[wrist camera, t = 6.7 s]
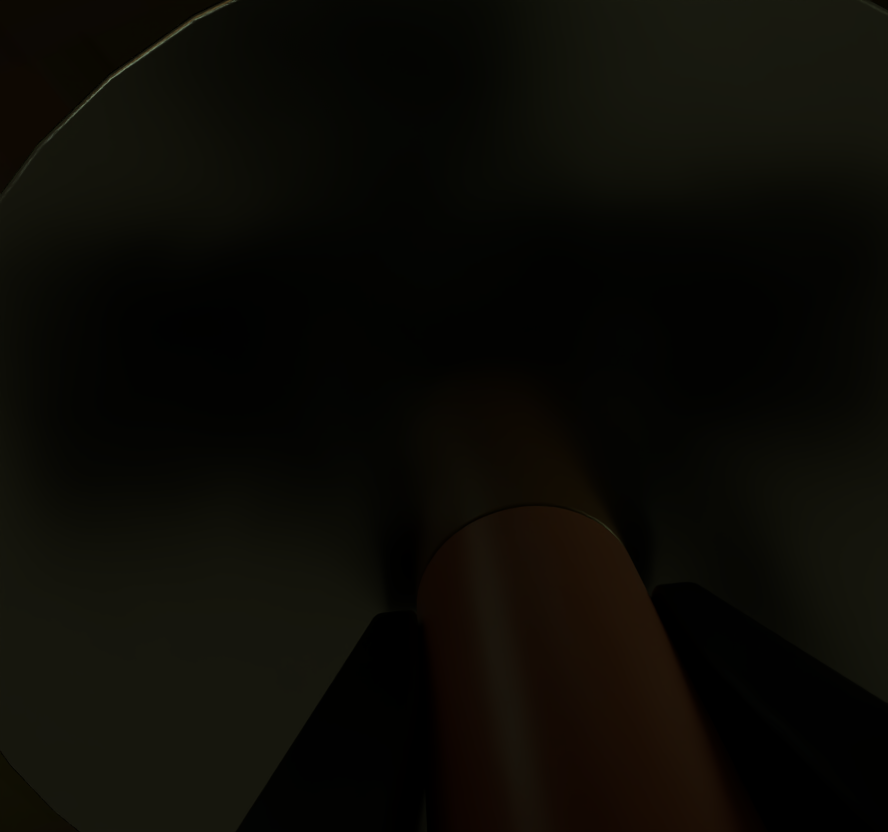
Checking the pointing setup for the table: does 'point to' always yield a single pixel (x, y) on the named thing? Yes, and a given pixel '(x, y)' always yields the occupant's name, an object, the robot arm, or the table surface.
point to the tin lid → (442, 395)
